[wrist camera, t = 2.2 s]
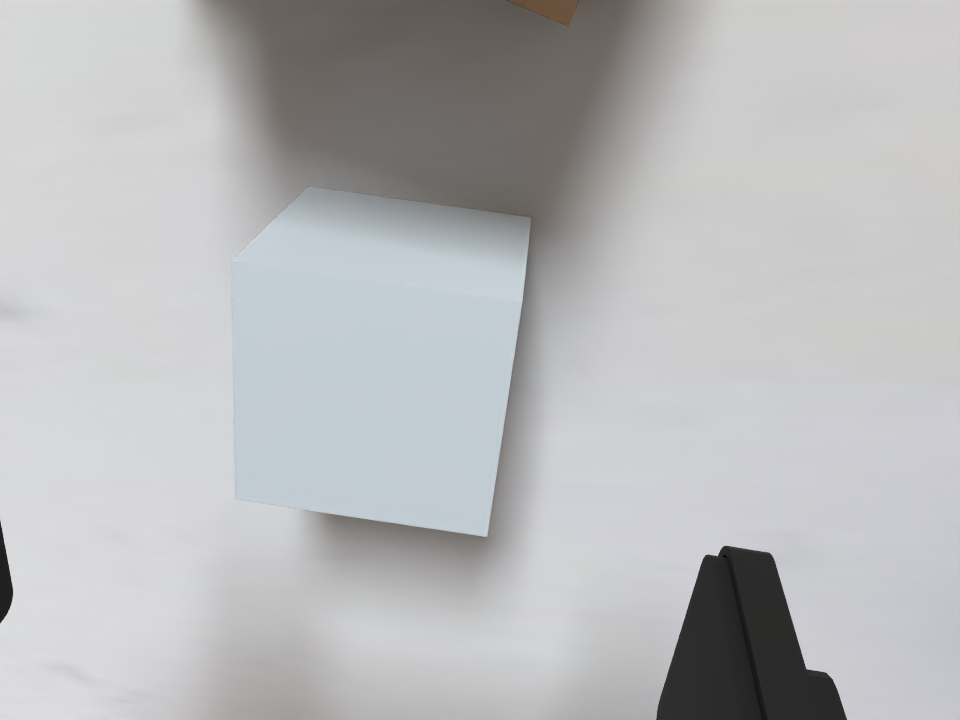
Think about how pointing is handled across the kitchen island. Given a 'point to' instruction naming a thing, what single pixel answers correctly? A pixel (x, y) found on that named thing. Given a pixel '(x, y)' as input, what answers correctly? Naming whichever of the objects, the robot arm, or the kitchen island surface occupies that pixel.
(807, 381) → the kitchen island surface
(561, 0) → the bottom block
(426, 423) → the cube
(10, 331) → the kitchen island surface
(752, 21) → the kitchen island surface
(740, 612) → the robot arm
